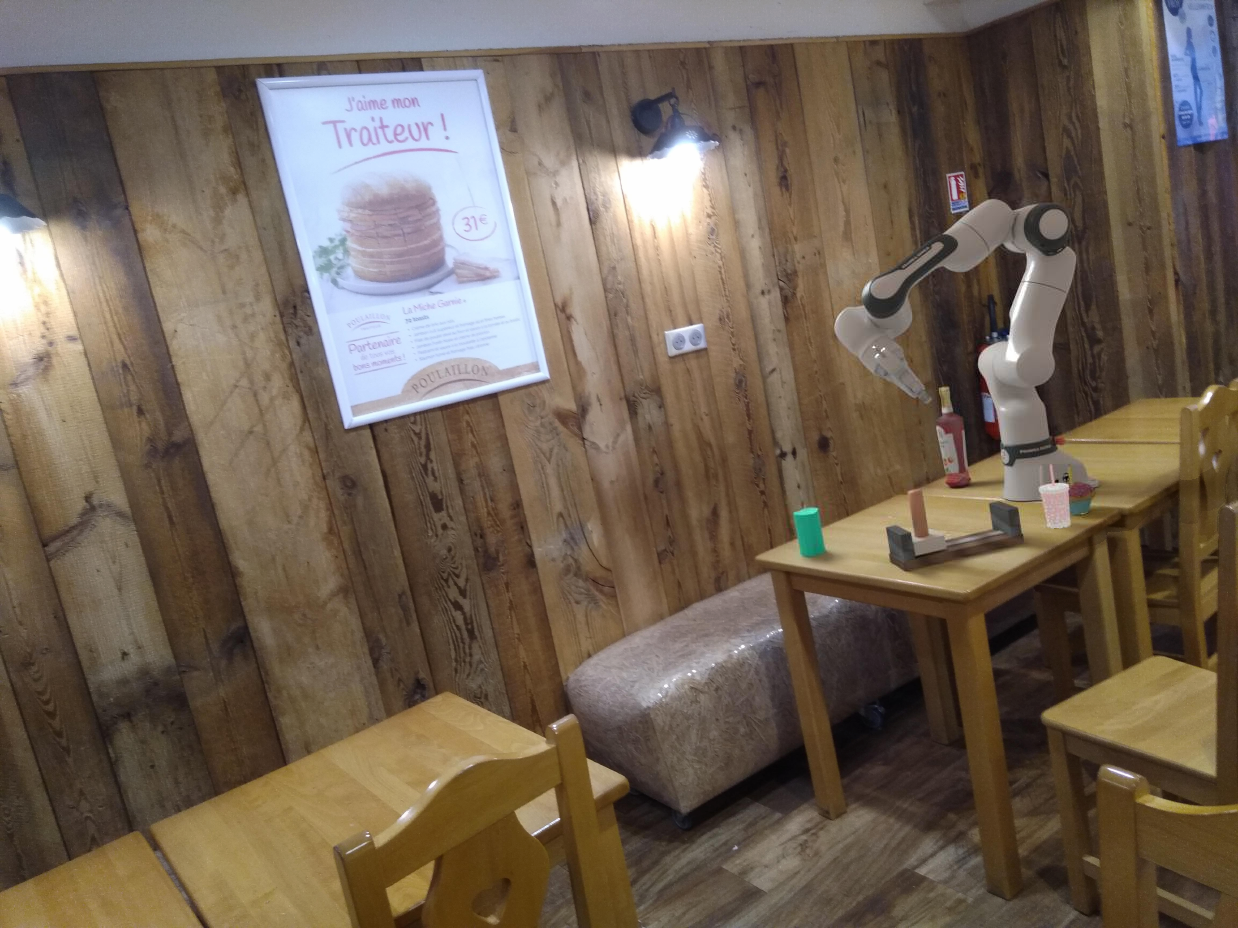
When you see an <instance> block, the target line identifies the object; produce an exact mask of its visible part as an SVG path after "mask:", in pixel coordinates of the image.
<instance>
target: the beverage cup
mask: <svg viewBox="0 0 1238 928" xmlns="http://www.w3.org/2000/svg"><path fill="white" fill-rule="evenodd" d="M1050 472H1051V479H1052V484H1046V485H1043V486H1040V487H1039V492H1040V493H1041V497H1042V500H1041V501H1042V506H1043V510H1044V516H1045V519H1046V525H1047V528H1049V527H1050V528H1049V529H1054V528H1059V529H1064V528H1063V527H1065V528H1068V527H1070V526H1071V515H1070V509H1069V494H1068V490H1069V485H1068V484H1065V483H1054V476H1053V469H1052V464H1051V465H1050ZM1069 525H1070V526H1069ZM1067 526H1068V527H1067Z"/></svg>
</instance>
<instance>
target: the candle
mask: <svg viewBox="0 0 1238 928" xmlns="http://www.w3.org/2000/svg"><path fill="white" fill-rule="evenodd" d="M803 506H804V508H803V509H801V510H799V511H794V512H793V520H794V524H795V531H796V536H797V541H798V547H799V552H800V556H802V557H816V556H820V555H822V554H824V553H825V552H826V546H825V540H824V535H823V534H824V533H823V530H822V528H823V527H822V524H821V523H822V522H821V518H820V513H819V508H818V507H806V505H805V504H804V505H803Z"/></svg>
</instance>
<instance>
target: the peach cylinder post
mask: <svg viewBox="0 0 1238 928" xmlns="http://www.w3.org/2000/svg"><path fill="white" fill-rule="evenodd" d="M907 497H908V502H909V509H910V516H911V522H912V527H913V528H912V529H913V532H911V535H912V541H913V547H914V553H915V556H917V555H921V554H926V553H930V552H934V551H938V550H943V549H947V548H946V542H945V540H946V536H945V534H943V533H941V532H939V531H936V530H934V529H932V528H929V525H928V524H929V523H928V519H927V513H926V507H925V502H924V501H925V500H924V494H923V489H920V488H916V489H910V490H908V491H907Z"/></svg>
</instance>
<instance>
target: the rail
mask: <svg viewBox="0 0 1238 928" xmlns="http://www.w3.org/2000/svg"><path fill="white" fill-rule="evenodd" d="M988 507H989V513H990V520H991V521H990V522H991V529H987V530H984V531H980V532H975V533H970V534H966V535H962V536H961V535H960V536H957V537H954V538H949V539H945V542H946V548H947V549H943V550H938V551H934V552H930V553H926V554H921V555H917V556H915V553H914V547H913V541H912V535H911V533H912V532H911V531H909V530H907V529H905V528H903V527H901V526H899V525H897V524H895V525H890V526H886V527H885V531H886V538H887V543H888V549H889V552H888V556H889V562H890V563H891V564H893V565H894V566H895V567H897V568H899V569H901V570H902V571H903V572H908V571H912V570H916V569H919V568H924V567H928V566H932V565H937V564H940V563H941V564H942V563H944V562H945V563H946V562H949V561H953V560H958V559H959V560H960V559H962V558H966V557H970V556H975V555H979V554H983V553H988V552H991V551H995V550H1001V549H1005V548H1009V547H1014V546H1017V545H1022V544H1025V536H1024V533H1023V531H1022V525H1021V519H1020V511H1019V507H1017V506H1014V505H1012V504H1009V503H1006V502H1003V501H1001V500H998V501H994V502H993V501H992V502H989V503H988Z"/></svg>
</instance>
